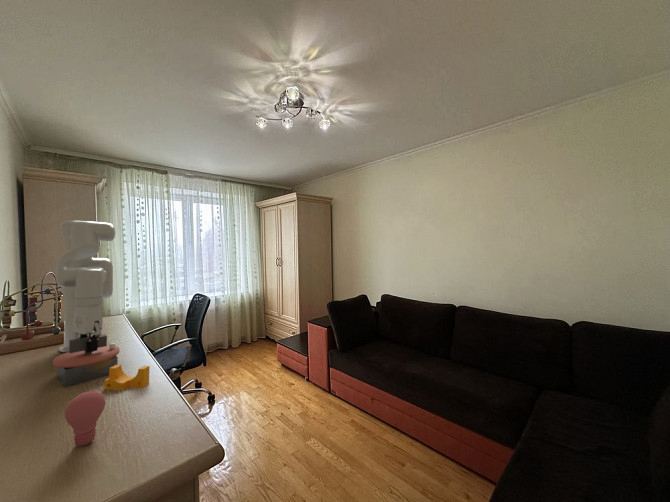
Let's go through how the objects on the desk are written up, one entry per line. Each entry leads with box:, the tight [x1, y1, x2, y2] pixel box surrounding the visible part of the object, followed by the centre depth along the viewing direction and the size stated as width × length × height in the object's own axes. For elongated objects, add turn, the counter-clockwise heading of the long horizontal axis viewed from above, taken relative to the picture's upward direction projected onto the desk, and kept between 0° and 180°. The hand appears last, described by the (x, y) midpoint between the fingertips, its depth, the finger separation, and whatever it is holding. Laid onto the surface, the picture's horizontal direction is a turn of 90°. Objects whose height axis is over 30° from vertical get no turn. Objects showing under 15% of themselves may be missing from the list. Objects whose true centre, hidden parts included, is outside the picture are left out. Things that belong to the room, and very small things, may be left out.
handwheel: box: [52, 333, 120, 368], centre depth 97 cm, size 18×18×7 cm
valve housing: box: [56, 355, 119, 389], centre depth 97 cm, size 14×14×6 cm
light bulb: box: [64, 390, 106, 447], centre depth 63 cm, size 7×7×12 cm
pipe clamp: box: [103, 364, 150, 391], centre depth 89 cm, size 12×4×6 cm, turn 89°
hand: (87, 350), depth 97 cm, fingers closed on handwheel, 4 cm apart
